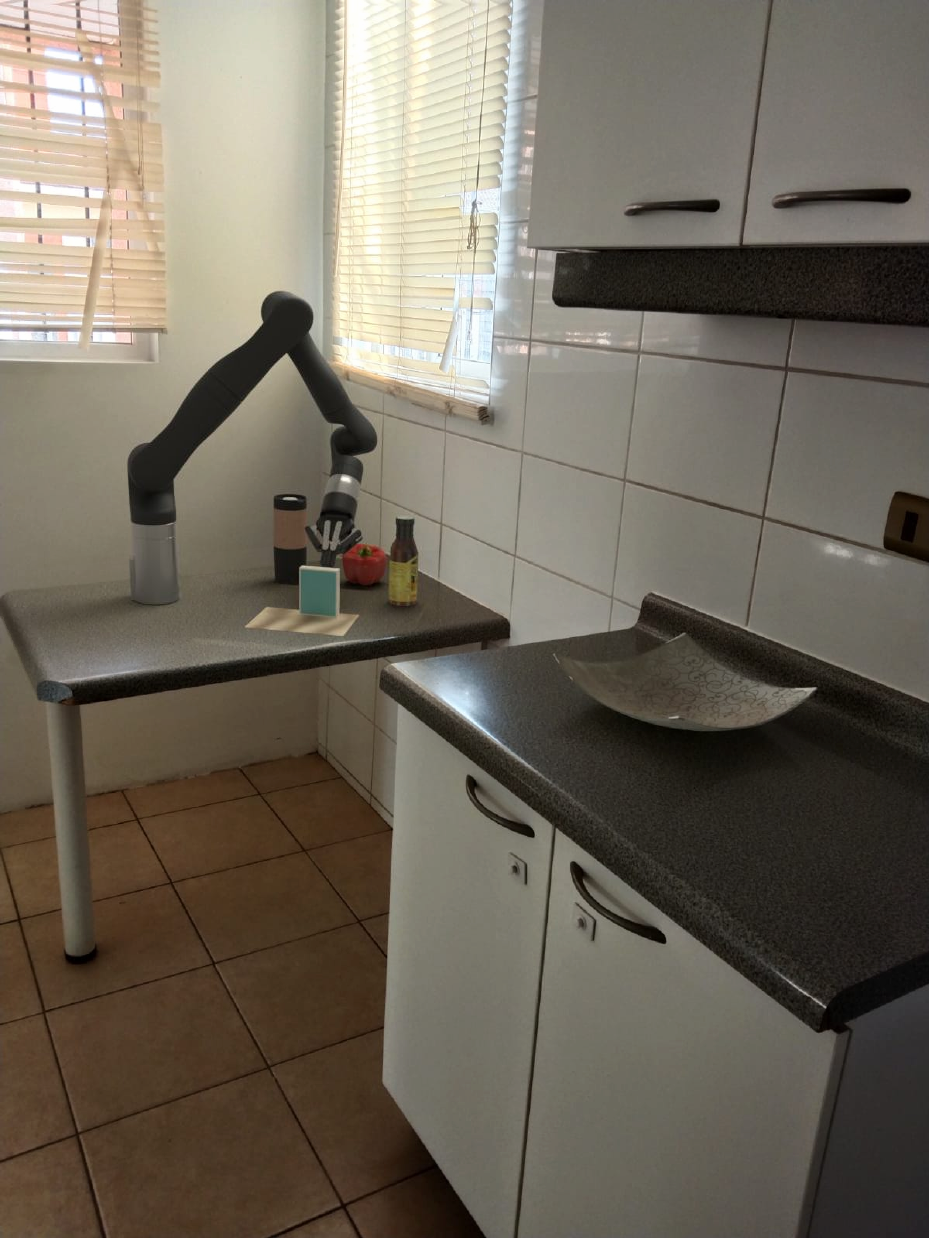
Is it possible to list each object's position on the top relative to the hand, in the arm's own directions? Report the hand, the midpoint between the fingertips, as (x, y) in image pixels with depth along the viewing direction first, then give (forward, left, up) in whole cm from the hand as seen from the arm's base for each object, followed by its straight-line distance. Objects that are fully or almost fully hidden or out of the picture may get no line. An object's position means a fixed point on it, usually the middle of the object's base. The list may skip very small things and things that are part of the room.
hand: (326, 568), depth 211 cm
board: (-2, -10, -10) cm, 14 cm away
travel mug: (-14, +21, -10) cm, 27 cm away
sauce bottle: (+15, +9, -10) cm, 20 cm away
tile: (0, -5, -9) cm, 10 cm away
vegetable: (+3, +24, -10) cm, 26 cm away
